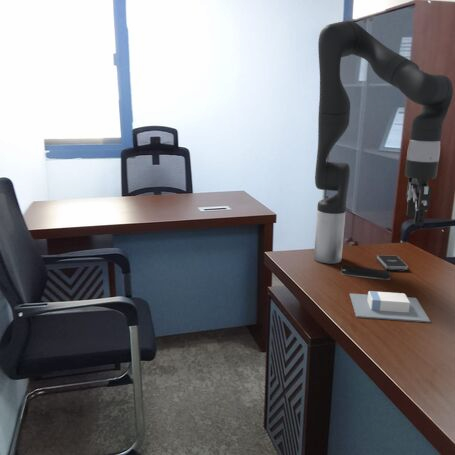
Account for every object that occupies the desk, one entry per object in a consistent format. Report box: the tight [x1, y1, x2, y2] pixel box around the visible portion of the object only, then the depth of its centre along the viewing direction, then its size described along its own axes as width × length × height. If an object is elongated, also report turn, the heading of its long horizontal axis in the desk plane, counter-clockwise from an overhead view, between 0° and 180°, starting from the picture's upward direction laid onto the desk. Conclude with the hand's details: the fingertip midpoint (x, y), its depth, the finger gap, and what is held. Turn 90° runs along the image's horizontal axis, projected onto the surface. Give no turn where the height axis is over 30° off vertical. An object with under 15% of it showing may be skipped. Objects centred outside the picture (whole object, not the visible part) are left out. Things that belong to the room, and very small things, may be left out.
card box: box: [367, 290, 410, 313], centre depth 123 cm, size 10×6×3 cm, turn 83°
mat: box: [349, 293, 431, 323], centre depth 124 cm, size 14×18×1 cm
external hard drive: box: [376, 254, 409, 272], centre depth 155 cm, size 7×11×2 cm, turn 0°
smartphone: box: [340, 265, 392, 281], centre depth 148 cm, size 8×1×15 cm
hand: (414, 220), depth 121 cm, fingers open, 8 cm apart
